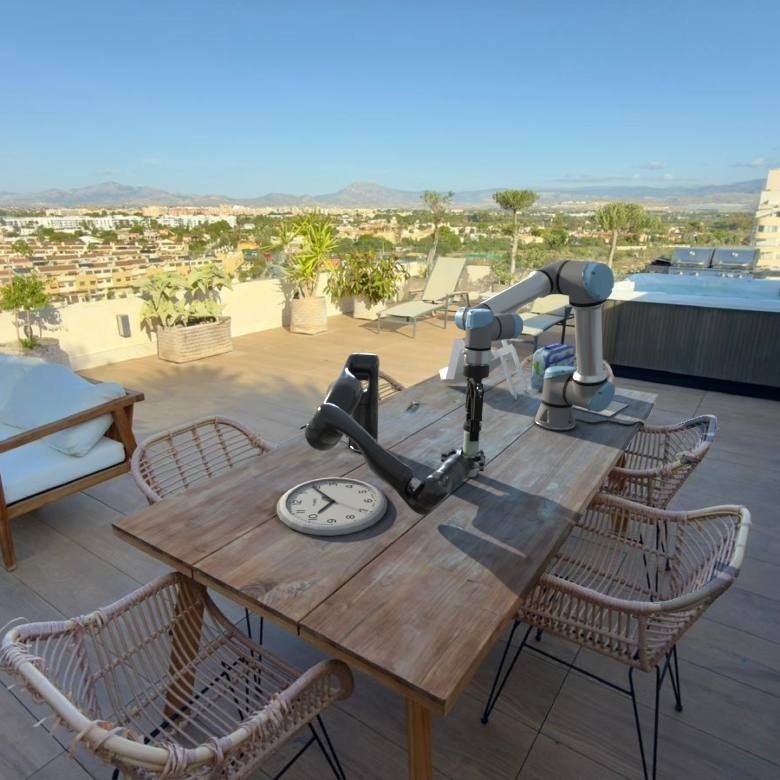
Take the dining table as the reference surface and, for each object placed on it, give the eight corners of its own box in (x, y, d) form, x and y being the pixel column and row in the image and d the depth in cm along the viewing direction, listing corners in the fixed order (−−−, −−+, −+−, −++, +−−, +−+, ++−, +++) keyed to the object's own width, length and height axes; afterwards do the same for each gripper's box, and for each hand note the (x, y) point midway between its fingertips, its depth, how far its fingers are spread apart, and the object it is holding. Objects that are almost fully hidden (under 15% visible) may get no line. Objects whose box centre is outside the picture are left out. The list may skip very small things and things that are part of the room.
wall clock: (392, 527, 129) (268, 531, 127) (391, 533, 130) (269, 537, 127) (383, 473, 158) (282, 475, 155) (383, 478, 158) (282, 480, 156)
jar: (479, 474, 162) (483, 427, 157) (469, 478, 159) (472, 430, 155) (469, 469, 166) (472, 422, 161) (458, 473, 163) (461, 425, 158)
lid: (465, 432, 155) (466, 427, 155) (461, 426, 160) (461, 420, 160) (483, 432, 156) (483, 426, 155) (478, 425, 161) (478, 420, 160)
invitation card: (608, 416, 214) (573, 407, 224) (608, 416, 214) (573, 408, 224) (628, 404, 229) (594, 396, 238) (628, 405, 229) (594, 397, 238)
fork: (403, 411, 216) (403, 406, 215) (414, 400, 230) (414, 395, 230) (409, 412, 215) (409, 407, 215) (420, 400, 229) (420, 396, 229)
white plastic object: (461, 429, 252) (437, 405, 227) (444, 352, 274) (420, 323, 250) (535, 404, 240) (518, 377, 215) (510, 326, 262) (492, 293, 237)
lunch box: (547, 395, 239) (552, 351, 233) (526, 390, 247) (530, 347, 240) (574, 384, 257) (579, 343, 251) (554, 380, 264) (558, 339, 258)
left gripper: (429, 477, 153) (451, 456, 167) (475, 489, 146) (495, 466, 161) (430, 454, 151) (453, 434, 165) (477, 465, 144) (496, 444, 158)
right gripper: (458, 355, 160) (454, 426, 167) (470, 371, 143) (464, 449, 150) (482, 355, 161) (477, 426, 168) (497, 371, 143) (490, 449, 150)
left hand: (473, 450), depth 163 cm, fingers closed on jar, 4 cm apart
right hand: (471, 436), depth 159 cm, fingers closed on lid, 5 cm apart
